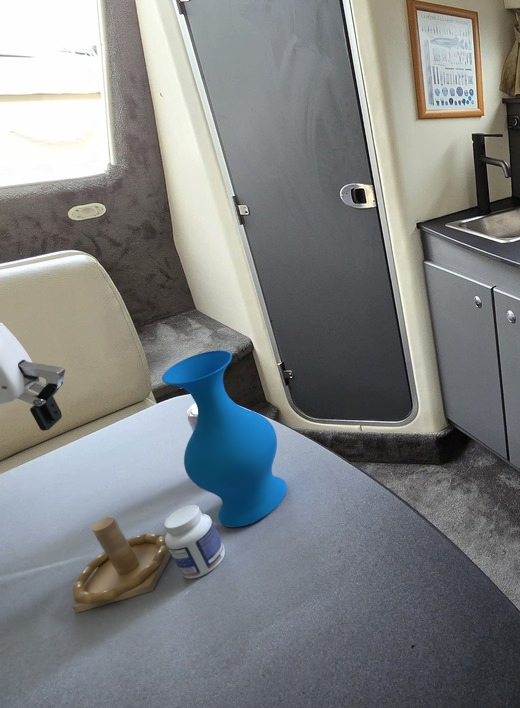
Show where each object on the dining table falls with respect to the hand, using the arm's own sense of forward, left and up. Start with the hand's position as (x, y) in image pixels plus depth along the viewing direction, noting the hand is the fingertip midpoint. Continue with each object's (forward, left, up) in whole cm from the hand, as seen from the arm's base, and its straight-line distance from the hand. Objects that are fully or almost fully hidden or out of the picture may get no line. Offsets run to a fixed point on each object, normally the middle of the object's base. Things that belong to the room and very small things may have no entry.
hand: (9, 431), depth 69 cm
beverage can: (+18, +10, -24) cm, 31 cm away
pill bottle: (+20, -10, -24) cm, 32 cm away
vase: (+24, 0, -24) cm, 34 cm away
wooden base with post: (+10, -8, -23) cm, 27 cm away
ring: (+9, -8, -22) cm, 25 cm away
